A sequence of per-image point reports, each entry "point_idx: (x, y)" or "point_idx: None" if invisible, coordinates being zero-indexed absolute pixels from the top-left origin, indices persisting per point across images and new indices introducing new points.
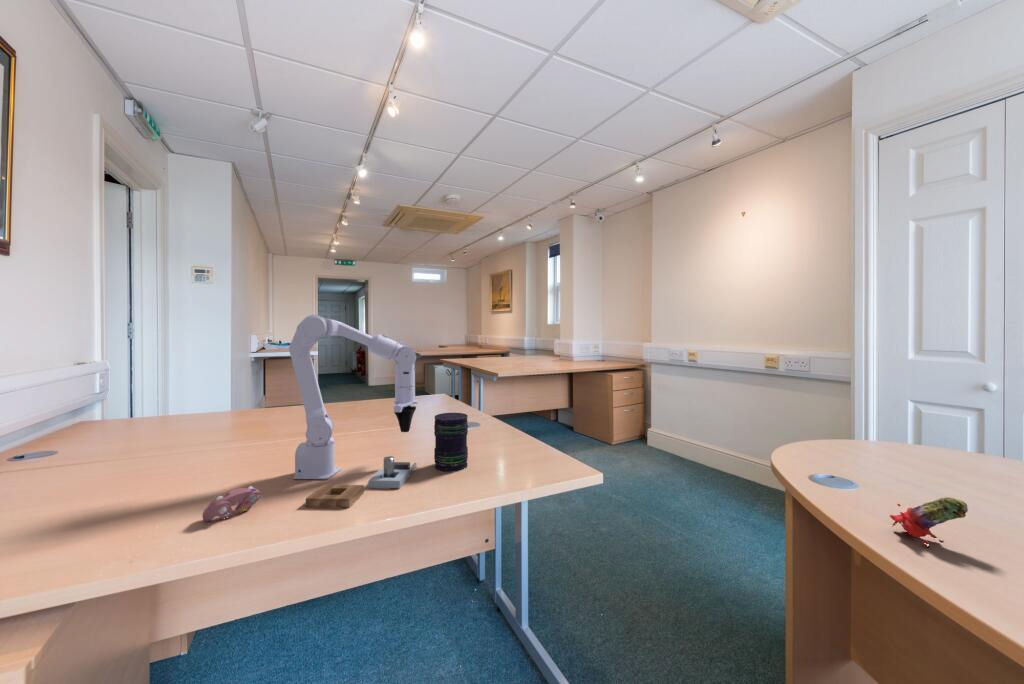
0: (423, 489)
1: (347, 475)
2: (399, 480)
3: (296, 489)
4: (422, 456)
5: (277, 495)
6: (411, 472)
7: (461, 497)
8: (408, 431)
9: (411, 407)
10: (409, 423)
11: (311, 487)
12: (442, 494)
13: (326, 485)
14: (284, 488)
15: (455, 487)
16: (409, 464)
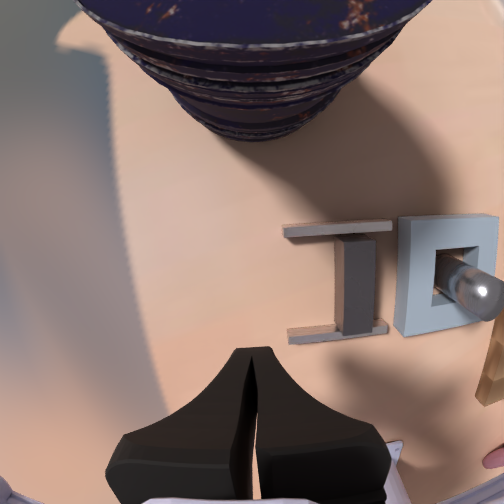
0: (482, 135)
1: (372, 418)
2: (497, 219)
3: (442, 451)
4: (136, 246)
5: (461, 456)
6: (360, 220)
7: (495, 31)
8: (254, 347)
9: (206, 499)
10: (275, 374)
11: (439, 437)
12: (495, 76)
13: (491, 397)
14: (430, 470)
15: (451, 39)
16: (352, 240)
